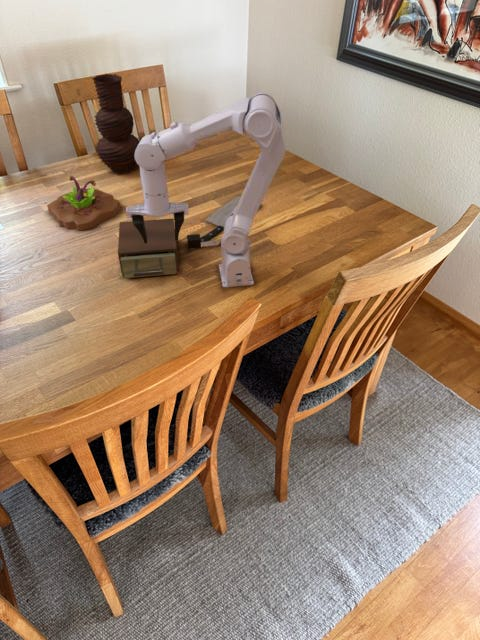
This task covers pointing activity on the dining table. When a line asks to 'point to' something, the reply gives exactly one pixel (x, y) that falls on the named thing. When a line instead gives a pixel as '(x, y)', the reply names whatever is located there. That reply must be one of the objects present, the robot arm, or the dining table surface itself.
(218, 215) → the cleaver
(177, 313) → the dining table surface
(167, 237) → the cabinet
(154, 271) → the drawer
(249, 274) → the robot arm
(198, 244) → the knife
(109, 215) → the plant
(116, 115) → the vase
